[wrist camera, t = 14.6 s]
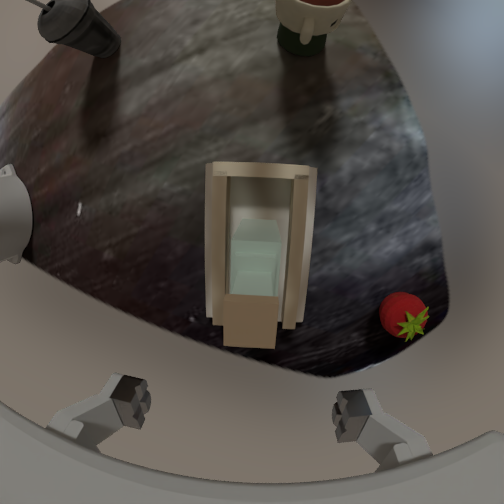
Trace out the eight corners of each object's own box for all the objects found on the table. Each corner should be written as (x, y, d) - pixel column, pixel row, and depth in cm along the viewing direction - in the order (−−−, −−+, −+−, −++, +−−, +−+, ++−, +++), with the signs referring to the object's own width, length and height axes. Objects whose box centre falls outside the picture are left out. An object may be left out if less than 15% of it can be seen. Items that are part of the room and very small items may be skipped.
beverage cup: (110, 71, 29) (17, 25, 9) (81, 60, 28) (-5, 23, 9) (137, 31, 27) (63, -35, 8) (107, 23, 26) (33, -29, 7)
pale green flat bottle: (242, 218, 32) (216, 269, 15) (276, 220, 32) (289, 273, 15) (240, 274, 34) (218, 367, 17) (272, 275, 34) (278, 371, 17)
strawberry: (379, 272, 35) (411, 303, 25) (415, 289, 36) (450, 320, 26) (359, 308, 37) (384, 347, 27) (396, 321, 37) (425, 358, 28)
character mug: (323, 78, 28) (352, 33, 16) (267, 67, 28) (268, 15, 16) (330, 17, 25) (354, -36, 13) (279, 7, 25) (283, -51, 13)
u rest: (208, 311, 38) (201, 330, 33) (208, 163, 32) (199, 161, 27) (301, 316, 37) (305, 336, 33) (314, 168, 32) (323, 167, 27)
